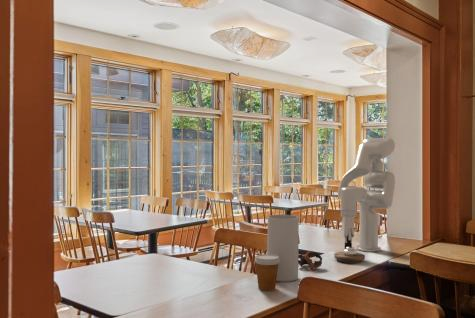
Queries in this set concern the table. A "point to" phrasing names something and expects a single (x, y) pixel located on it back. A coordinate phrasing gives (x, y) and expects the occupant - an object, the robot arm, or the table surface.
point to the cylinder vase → (284, 245)
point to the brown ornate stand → (310, 260)
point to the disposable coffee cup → (267, 271)
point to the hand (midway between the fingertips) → (348, 251)
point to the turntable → (349, 257)
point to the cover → (350, 251)
